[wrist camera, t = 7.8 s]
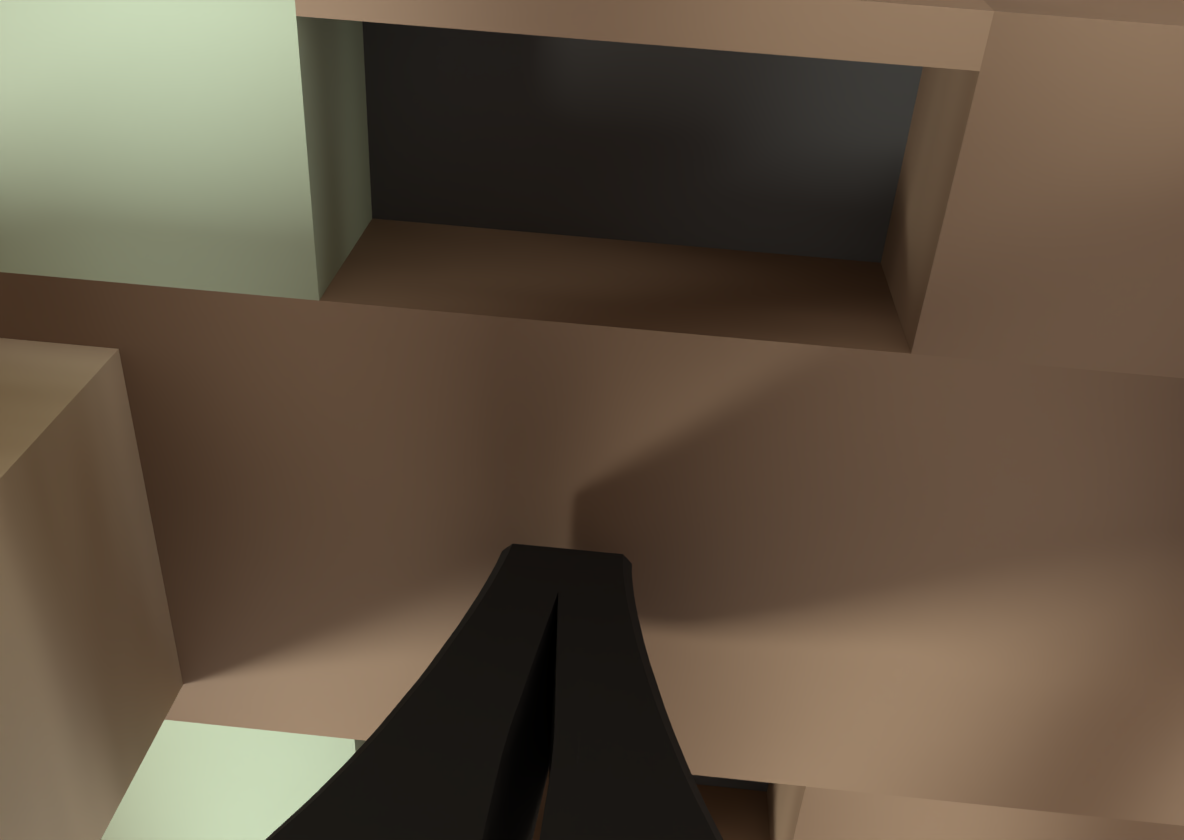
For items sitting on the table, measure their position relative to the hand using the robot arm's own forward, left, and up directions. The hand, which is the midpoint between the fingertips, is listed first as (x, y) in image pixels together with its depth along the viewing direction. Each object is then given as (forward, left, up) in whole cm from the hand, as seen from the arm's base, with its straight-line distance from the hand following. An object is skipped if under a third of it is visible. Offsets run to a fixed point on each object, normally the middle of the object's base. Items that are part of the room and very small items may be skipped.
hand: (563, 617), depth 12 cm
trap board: (-1, 0, -3) cm, 3 cm away
